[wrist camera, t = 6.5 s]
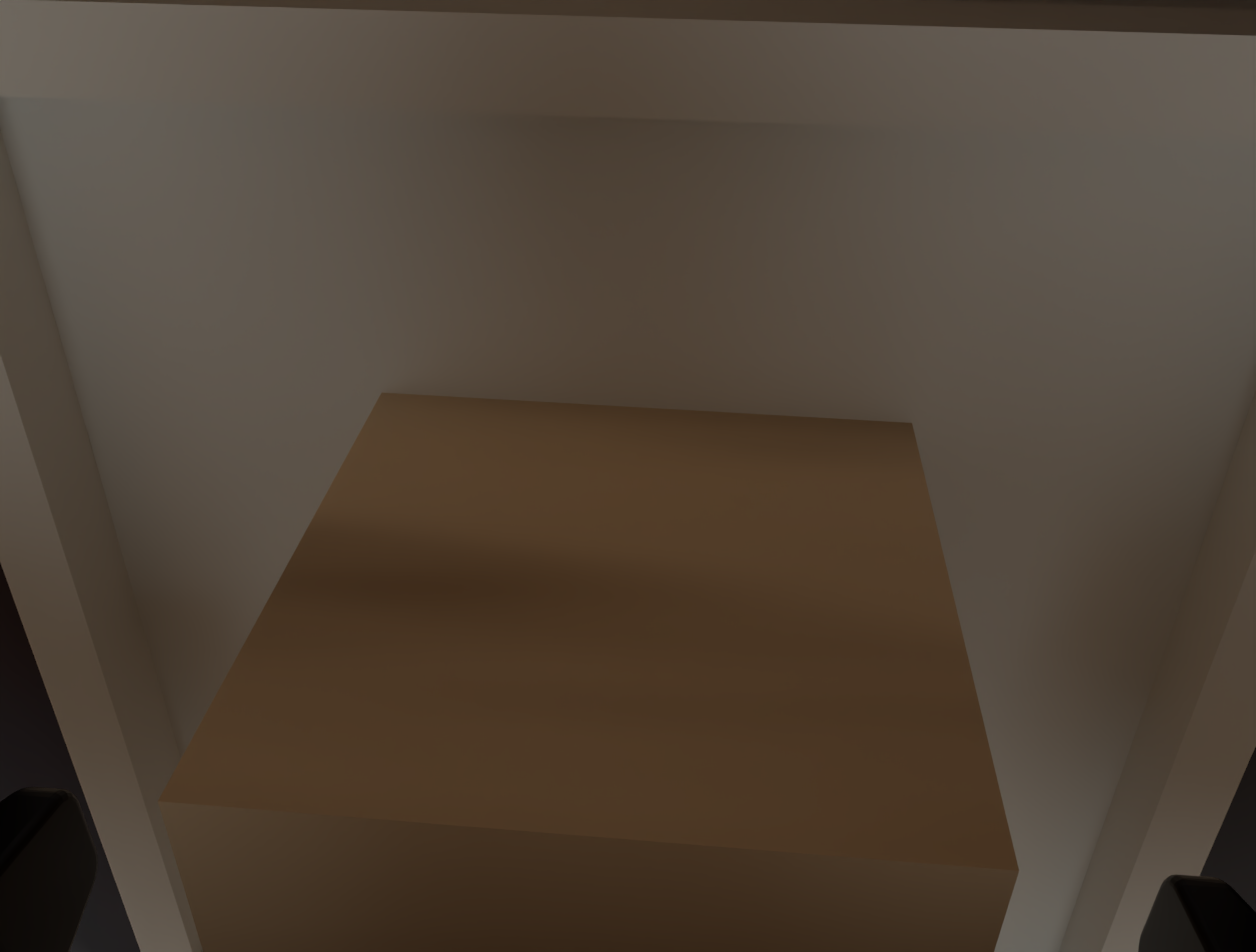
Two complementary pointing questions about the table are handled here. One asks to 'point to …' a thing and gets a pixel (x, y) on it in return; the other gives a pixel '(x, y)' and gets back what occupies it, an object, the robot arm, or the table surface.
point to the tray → (653, 340)
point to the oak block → (602, 699)
